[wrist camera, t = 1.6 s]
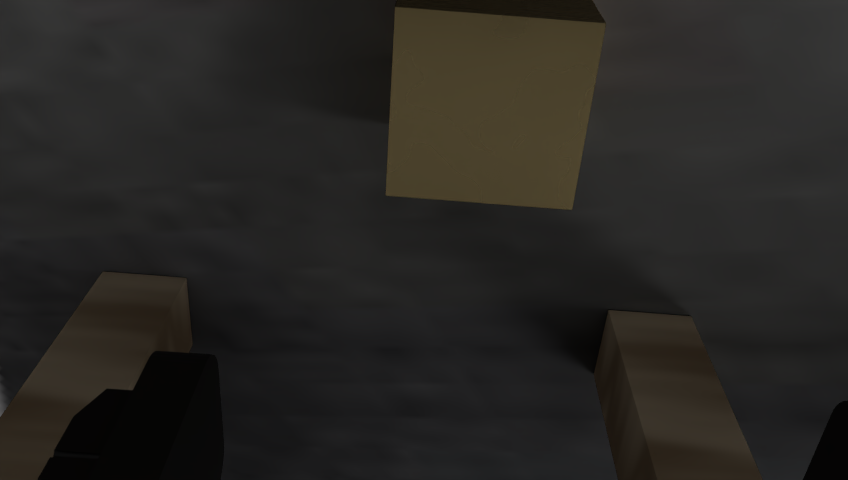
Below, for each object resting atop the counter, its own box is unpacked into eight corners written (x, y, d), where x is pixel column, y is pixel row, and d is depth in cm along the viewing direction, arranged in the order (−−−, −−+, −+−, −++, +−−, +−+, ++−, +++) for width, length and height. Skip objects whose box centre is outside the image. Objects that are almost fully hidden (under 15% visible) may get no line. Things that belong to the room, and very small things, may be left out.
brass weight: (577, -23, 23) (606, 23, 19) (552, 136, 26) (572, 210, 22) (406, -37, 23) (395, 6, 19) (397, 124, 26) (385, 195, 22)
